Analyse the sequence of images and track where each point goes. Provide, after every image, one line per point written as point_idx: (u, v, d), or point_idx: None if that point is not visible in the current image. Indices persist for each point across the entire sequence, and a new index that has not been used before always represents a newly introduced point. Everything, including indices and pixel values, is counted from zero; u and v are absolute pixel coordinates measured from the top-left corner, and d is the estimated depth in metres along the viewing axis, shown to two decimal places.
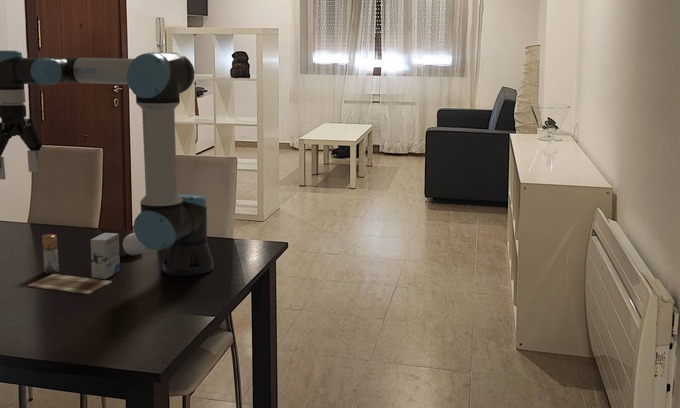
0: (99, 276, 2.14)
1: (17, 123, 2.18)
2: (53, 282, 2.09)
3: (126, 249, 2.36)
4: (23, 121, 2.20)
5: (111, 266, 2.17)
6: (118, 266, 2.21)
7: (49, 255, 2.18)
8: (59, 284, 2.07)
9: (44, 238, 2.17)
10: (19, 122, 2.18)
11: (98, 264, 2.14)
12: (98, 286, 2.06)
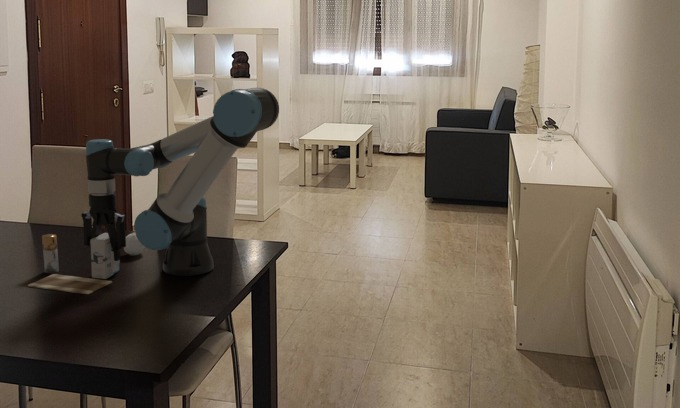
0: (99, 276, 2.14)
1: (102, 209, 2.13)
2: (53, 282, 2.09)
3: (126, 249, 2.36)
4: (110, 212, 2.13)
5: None
6: None
7: (49, 255, 2.18)
8: (59, 284, 2.07)
9: (44, 238, 2.17)
10: (105, 213, 2.13)
11: (98, 264, 2.14)
12: (98, 286, 2.06)
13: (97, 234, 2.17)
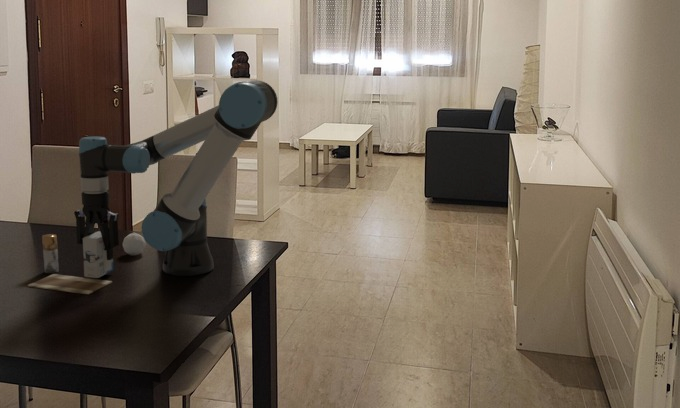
0: (91, 275, 2.11)
1: (95, 207, 2.10)
2: (53, 282, 2.09)
3: (126, 249, 2.36)
4: (103, 211, 2.10)
5: None
6: (112, 265, 2.18)
7: (49, 255, 2.18)
8: (59, 284, 2.07)
9: (44, 238, 2.17)
10: (98, 211, 2.10)
11: (90, 263, 2.11)
12: (98, 286, 2.06)
13: (90, 232, 2.14)
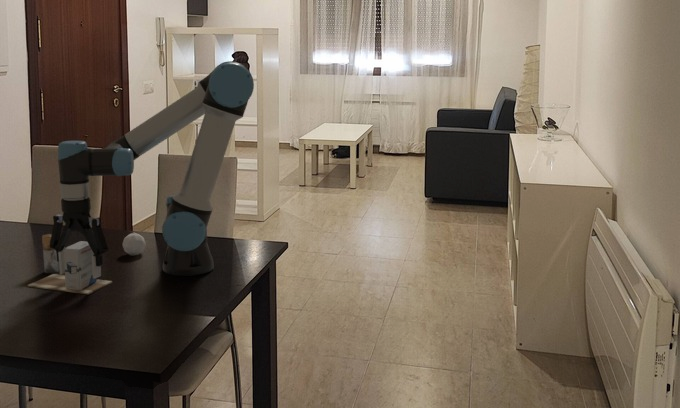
0: (73, 287, 2.03)
1: (75, 217, 2.02)
2: (53, 282, 2.09)
3: (126, 249, 2.36)
4: (83, 218, 2.01)
5: (86, 277, 2.05)
6: None
7: (49, 255, 2.18)
8: (59, 284, 2.07)
9: (44, 238, 2.17)
10: (78, 218, 2.02)
11: (71, 274, 2.02)
12: (98, 286, 2.06)
13: (66, 238, 2.06)
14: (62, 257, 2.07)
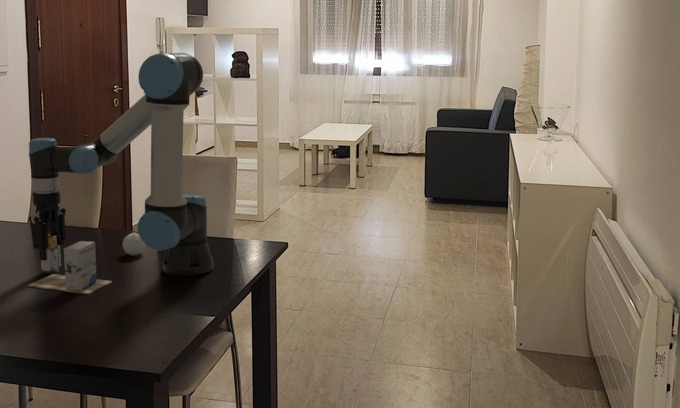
0: (73, 287, 2.03)
1: (52, 205, 2.17)
2: (53, 282, 2.09)
3: (126, 249, 2.36)
4: (57, 207, 2.19)
5: (86, 277, 2.05)
6: (95, 276, 2.10)
7: None
8: (59, 284, 2.07)
9: None
10: (54, 208, 2.18)
11: (71, 274, 2.02)
12: (98, 286, 2.06)
13: None
14: None
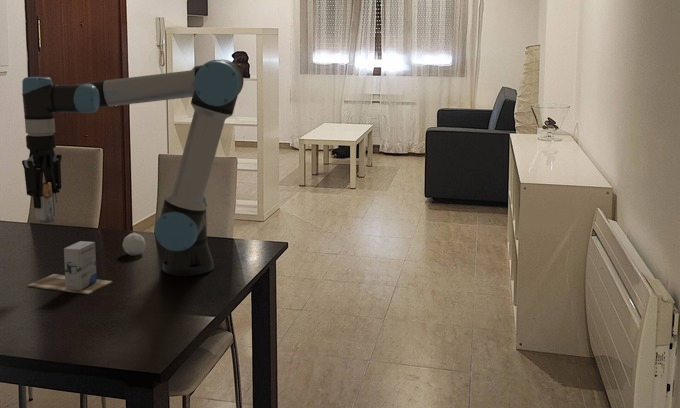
0: (73, 287, 2.03)
1: (47, 150, 2.03)
2: (53, 282, 2.09)
3: (126, 249, 2.36)
4: (53, 152, 2.05)
5: (86, 277, 2.05)
6: (95, 276, 2.10)
7: None
8: (59, 284, 2.07)
9: None
10: (49, 153, 2.04)
11: (71, 274, 2.02)
12: (98, 286, 2.06)
13: None
14: None
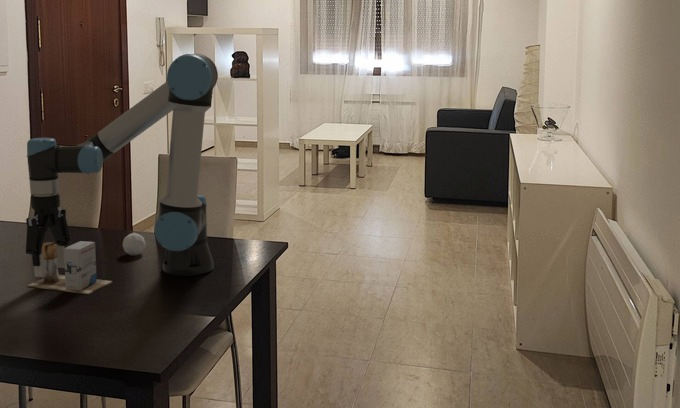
0: (73, 287, 2.03)
1: (50, 211, 2.06)
2: None
3: (126, 249, 2.36)
4: (56, 210, 2.09)
5: (86, 277, 2.05)
6: (95, 276, 2.10)
7: (48, 265, 2.07)
8: (59, 284, 2.07)
9: (44, 246, 2.06)
10: (53, 212, 2.07)
11: (71, 274, 2.02)
12: (98, 286, 2.06)
13: None
14: None
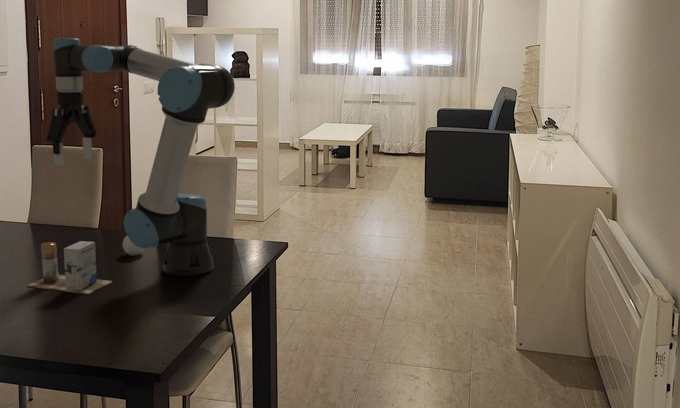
0: (73, 287, 2.03)
1: (75, 110, 2.21)
2: None
3: (126, 249, 2.36)
4: (80, 108, 2.23)
5: (86, 277, 2.05)
6: (95, 276, 2.10)
7: (48, 265, 2.07)
8: (59, 284, 2.07)
9: (43, 246, 2.06)
10: (76, 109, 2.21)
11: (71, 274, 2.02)
12: (98, 286, 2.06)
13: None
14: None
